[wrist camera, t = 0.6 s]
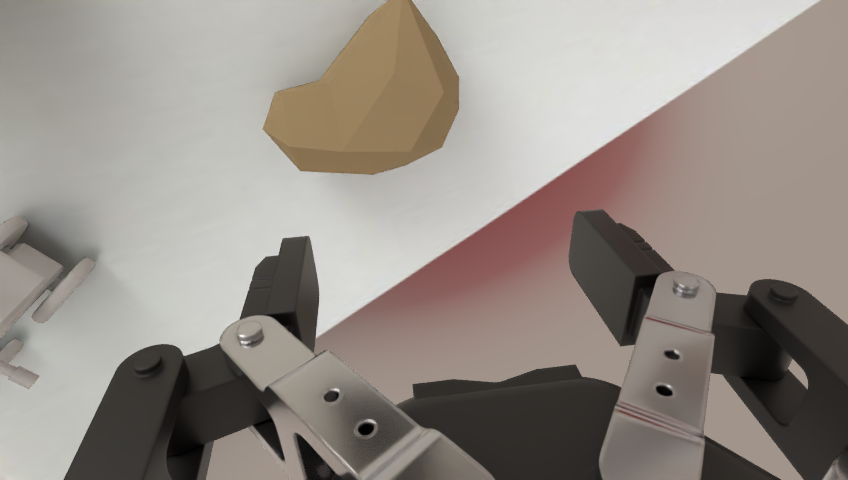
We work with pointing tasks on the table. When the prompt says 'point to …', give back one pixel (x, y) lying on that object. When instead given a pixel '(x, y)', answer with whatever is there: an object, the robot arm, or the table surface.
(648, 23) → the table surface
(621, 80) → the table surface
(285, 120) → the low-poly potato
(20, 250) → the pony
